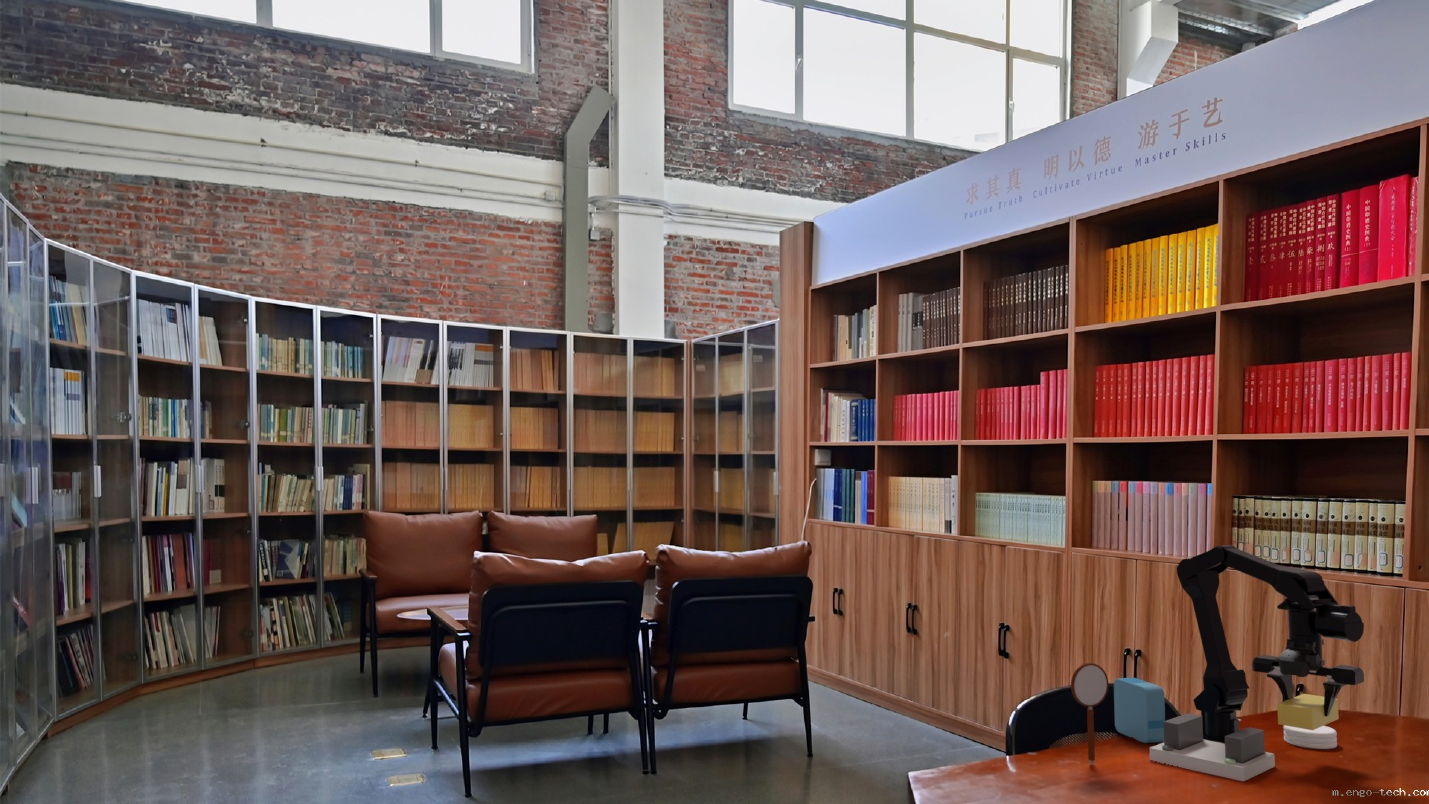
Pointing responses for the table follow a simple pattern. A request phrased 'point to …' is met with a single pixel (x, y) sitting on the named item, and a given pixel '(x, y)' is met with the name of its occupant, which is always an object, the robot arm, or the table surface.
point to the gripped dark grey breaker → (1244, 745)
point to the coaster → (1311, 737)
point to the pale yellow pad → (1306, 712)
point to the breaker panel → (1211, 760)
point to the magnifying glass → (1089, 695)
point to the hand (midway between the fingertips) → (1308, 713)
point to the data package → (1139, 709)
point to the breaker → (1183, 731)
